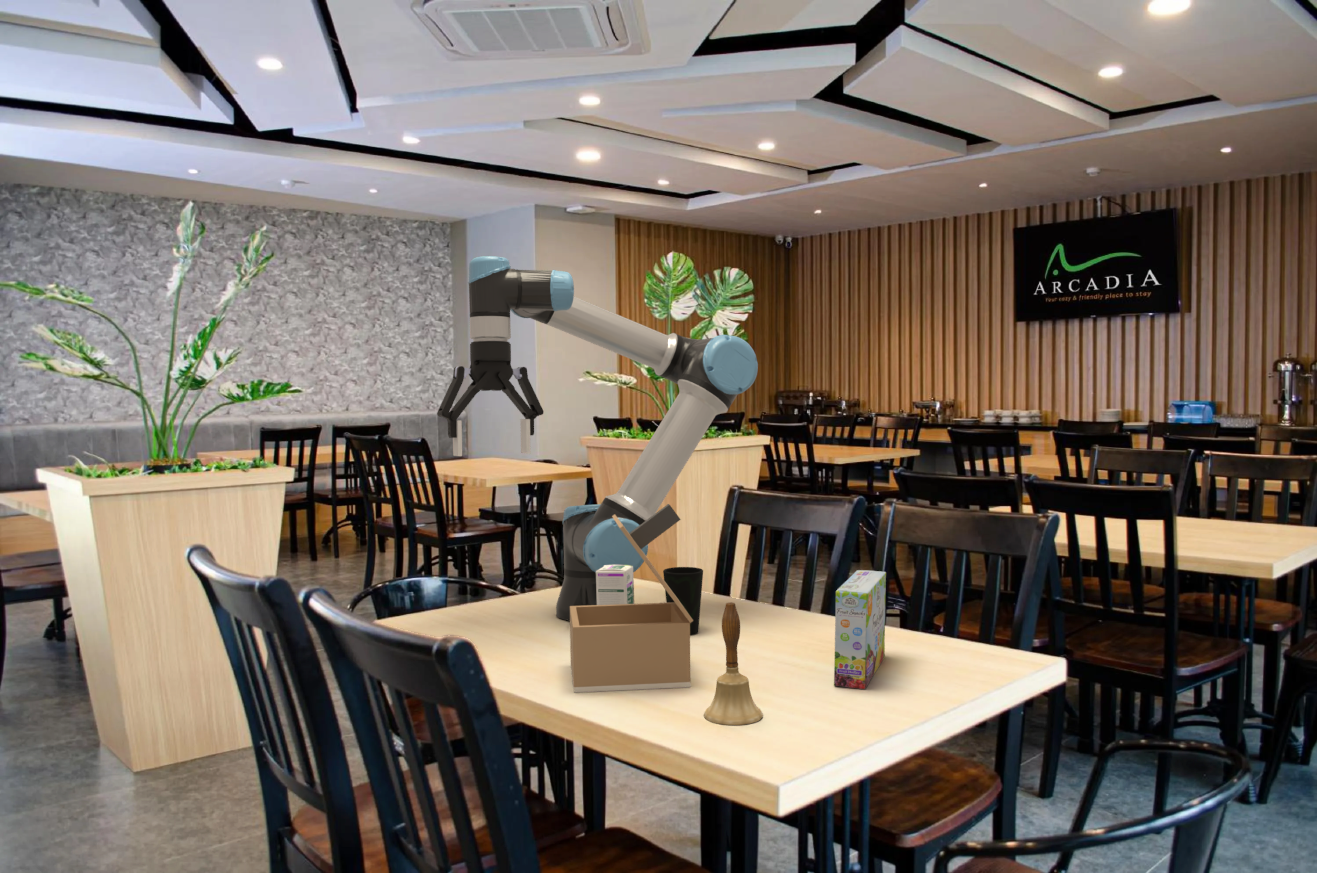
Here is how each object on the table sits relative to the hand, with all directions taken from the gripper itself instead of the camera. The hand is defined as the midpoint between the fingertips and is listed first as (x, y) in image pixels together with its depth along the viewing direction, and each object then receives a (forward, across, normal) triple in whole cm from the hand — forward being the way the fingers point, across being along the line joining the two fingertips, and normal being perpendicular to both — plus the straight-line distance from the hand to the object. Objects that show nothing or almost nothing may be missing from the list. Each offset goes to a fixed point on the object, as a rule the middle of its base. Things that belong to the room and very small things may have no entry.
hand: (492, 454), depth 184 cm
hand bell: (+35, -10, +62) cm, 72 cm away
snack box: (+35, -41, +55) cm, 77 cm away
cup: (+35, -32, +16) cm, 50 cm away
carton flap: (+17, -11, +38) cm, 43 cm away
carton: (+35, -8, +36) cm, 51 cm away
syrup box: (+35, -16, +18) cm, 42 cm away
